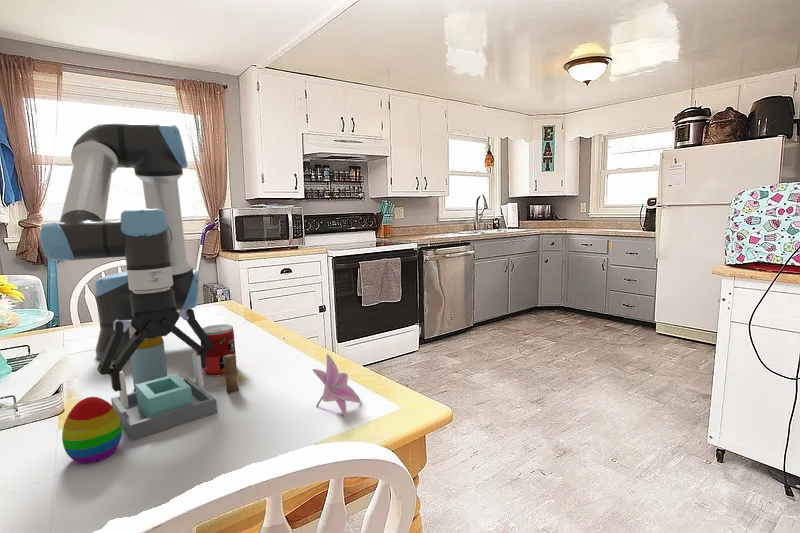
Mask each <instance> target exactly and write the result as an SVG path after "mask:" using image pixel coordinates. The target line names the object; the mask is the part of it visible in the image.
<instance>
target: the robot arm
mask: <svg viewBox="0 0 800 533" xmlns="http://www.w3.org/2000/svg"><path fill="white" fill-rule="evenodd" d="M70 159H71V162H72V164H73V167H72V171H71V175H70V179H69V183H68V186H67V187H68V188H67V191H66V195H65V199H64V203H63V206H62V212H61V215H60V216H61V217H60V218H59V221H54V222H47V223H44V224H43V225H42V226H41V227H40V231H39V232H40V233H39V242H40V247H41V251H42V252H43V254H44V256H45V258H47V260H50V261H52V262H57V261H63V262H64V261H71V262H74V261H80V260H81V261H83V260H94V259H96V260H97V259H107V258H123V257H124V258H125V262H126V271H122V272H117V273H113V274H108V275H104V276H102V277H100V278H98V279H97V280H96V281H95V283H94V290H95V291H94V292H95V294H94V296H95V300H96V307H97V312H98V321H99V328H100V329H99V333H98V334H99V335H98V339H97V342H96V347H95V356H96V359H98V360H100V361H99V363H98V365H97V371H98V372H99V374H100V375H101V376H102V375H104V376H105V375H109V376H110V382H111V388H112V390H113V391H114V392H115V393H117V392H119V396H120V402H121V405H122V406H123V408H127V407H129V406H128V398H127V394H128V392H127V384H126V375H125V373H124V372H123V368H124V367H125V366H126V364H127V363H128V361H129V360H130V357H131V356H132V354H133V353H134V352H135V350H136V349H137V348H138V346H139V345H140V344H141V343H142V342H143V341H144V339H145V338H149V339H153V338H156V337H158V336H162V337H167V336H168V335H169V334H170V333H172V334H173V335H175V336H176V337H177V338H179V339H180V340H181V341H182V342H183V343H184V344H186V345H187V346H188V347H190V348H191V349H192V350H194V351H195V352H194V353H191V357H192V365H193V366H192V368H193V373H194V374H193V375H194V382H195V384H197V385H198V386H199V387H203V386H204V380H203V379H204V378H203V369H204V368H206V359H205V354H206V353H207V351H208V350H209V349H213V347H214V345H213V343H212V342H211V340H210V339H209V337H208V336H207V335H206V333H205V332H204V330H203V329H202V328H203V327H202V325H200V323H199V322H198V320H197V319H196V316H195V315H196V314H195V311H194V308H196V306H197V305H198V299H199V280H200V278H199V277H200V275H199V274H200V273H199V271H198V270H196V269H194V268H193V264H192V263H191V262H189V261H188V260H187V253H186V244H185V235H184V228H183V227H184V226H183V217H182V209H181V201H180V192H179V191H180V190H179V183H178V182H179V179H180V178H181V177H182V176H183V175H184V172H183V169H185V168H186V169H187V168H188V167H189V166H188V160H187V157H186V150H185V147H184V142H183V139H182V136H181V132H180V129H179V127H178V126H176V125H175V124H173V123H165V122H159V121H157V122H155V121H154V122H153V121H152V122H148V121H146V122H145V121H144V122H143V121H140V122H138V121H117V120H116V121H114V120H112V121H106V122H102V123H99V124H97V125H95V126H92V127H91V128H89V129H88V130H86V131H85V132H83V133H82V135H81V136H79V138H77V140H75V142H74V144H73V147H72V149H71V154H70ZM118 168H119V169H120V168H126V169H127V168H129V169H130V168H133V169H134V174H135V176H136V177H137V178H138V179H140V180H141V181H142V187H143V196H144V201H145V202H144V203H145V208H142V209H140V208H139V209H135V208H134V209H126V210H123V211H122V212H120V220H119V219H118V220H117V219H115V220H113V219H112V220H106V215H107V209H108V202H109V195H110V190H111V188H110V187H111V182H112V174H113V173H115V171H116V170H117V169H118ZM180 318H181V319H182V320H184V321H186V322H187V324H188V325H189V326H190V328H191V329H192V331H193V332H194V333H195V335H196V336H197V337H198V339H199V340H201V341H200V343H201V342H202V343H203V345H201V344H199V343H198V342H196V341H195V340H194V339H193V338H191V337H190V336H189V335H187V334H186V333H185V332H184V331H183V330H181V329H180V328H179V327H177V325H176V324H177V322H178V320H179V319H180ZM129 326H132V327H133V328H134V329H135V330H136V331H135V333H134V334H133V335H132V337H131V338H130V333H129Z"/></svg>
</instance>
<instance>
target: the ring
mask: <svg viewBox="0 0 800 533" xmlns="http://www.w3.org/2000/svg"><path fill="white" fill-rule="evenodd" d="M182 379H183V378H181V377H180V376H179V375H177V374H174V373H173V374H171V375H167V376H166V377H162V378H158V379H155V380H151V381H147V382H143V383H139V384H135V386H136V388H135V392H136V394H137V403H138V408H139V410H140V411H141V412H142V413H143V415H144V416H145V417H146V418H149V417H152V416H155V415H159V414H162V413H165V412H168V411H172V410H175V409H178V408H181V407H185V406H188V405H191V404H193V401H192V391H191V386H189V385H188V384H187V383H186V382H184V381H183V380H182Z"/></svg>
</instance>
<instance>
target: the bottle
mask: <svg viewBox="0 0 800 533" xmlns="http://www.w3.org/2000/svg"><path fill="white" fill-rule="evenodd" d="M135 331H136V330H135V329H134V328H133V327H132V326H129V333H130V338H131V337H132V335H133V334H134V333H135ZM129 360H130V366H131V367H130V368H131V375H132V382H133V387H134V388H135V389H136V386H135V384H139V383H143V382H147V381H151V380H155V379H158V378H162V377H166V376H168V367H167V360H166V350H165V342H164V338H163V336H158V337H156V338H153V339H149V338H145V339H144V341H143V342H142V343H141V344H140V345H139V346H138V348H137V349H136V350H135V352H134V353H133V354H132V356H131V357H130V359H129Z"/></svg>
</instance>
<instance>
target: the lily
mask: <svg viewBox="0 0 800 533" xmlns="http://www.w3.org/2000/svg"><path fill="white" fill-rule="evenodd" d="M325 358H326V371H324V370H321V369H317V368H313V369H312V372H313V373H314V374H315V376H317V378H318V379H319V380H320V381H321V382H322V383H323V385H324V388H323V393H322V396H321V397H320V399H319V401H318V402H317V404H316V406H315V407H316V408H318V407H319V405H320V403H321V402H324V403H325V402H326V403H328V402H335V403H336V404H337V405H338V407H339V409H340V411H341V413H342V414H343V416H344V417H347V408H348V407H347V402H352V403H357V404H361V403H362V400H361V398H360V397H359V395H358V394H357V393H356V391H355V390H354V389H353V388H352V387H351V386H350V385H349V384H348V380H349V377H348V376H349V375H348V374H347V372H339V368H338V366H337V364H336V363H335V361H334V359H333V358H332V357H331V356H330V354H328V353H326V357H325Z"/></svg>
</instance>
